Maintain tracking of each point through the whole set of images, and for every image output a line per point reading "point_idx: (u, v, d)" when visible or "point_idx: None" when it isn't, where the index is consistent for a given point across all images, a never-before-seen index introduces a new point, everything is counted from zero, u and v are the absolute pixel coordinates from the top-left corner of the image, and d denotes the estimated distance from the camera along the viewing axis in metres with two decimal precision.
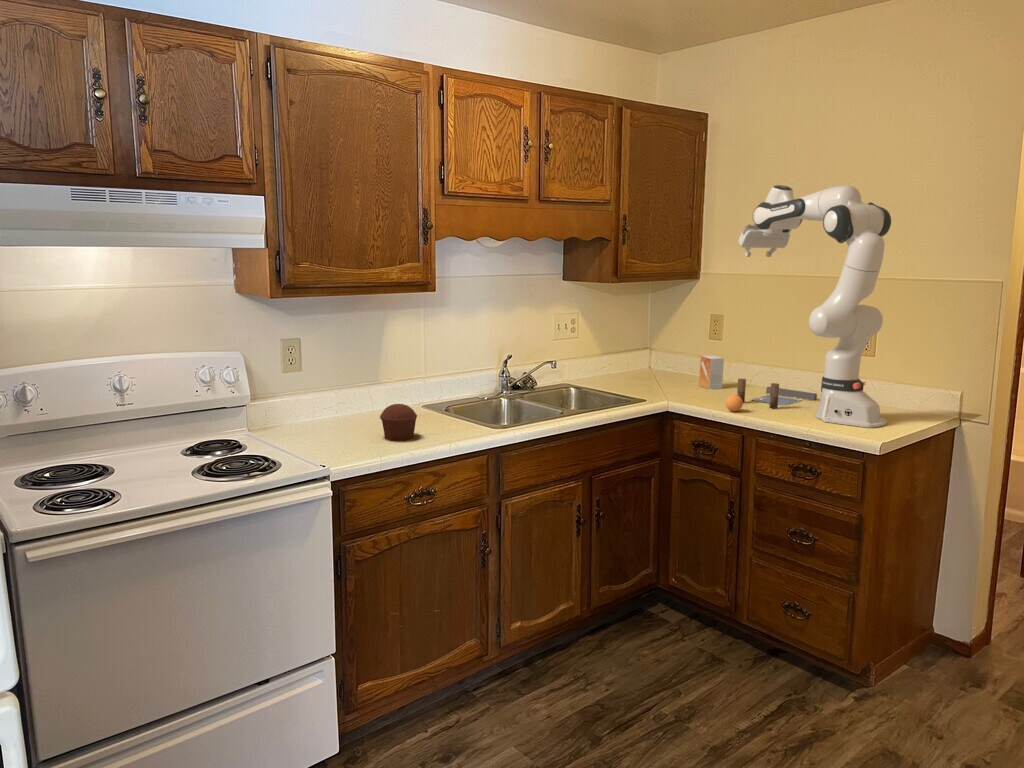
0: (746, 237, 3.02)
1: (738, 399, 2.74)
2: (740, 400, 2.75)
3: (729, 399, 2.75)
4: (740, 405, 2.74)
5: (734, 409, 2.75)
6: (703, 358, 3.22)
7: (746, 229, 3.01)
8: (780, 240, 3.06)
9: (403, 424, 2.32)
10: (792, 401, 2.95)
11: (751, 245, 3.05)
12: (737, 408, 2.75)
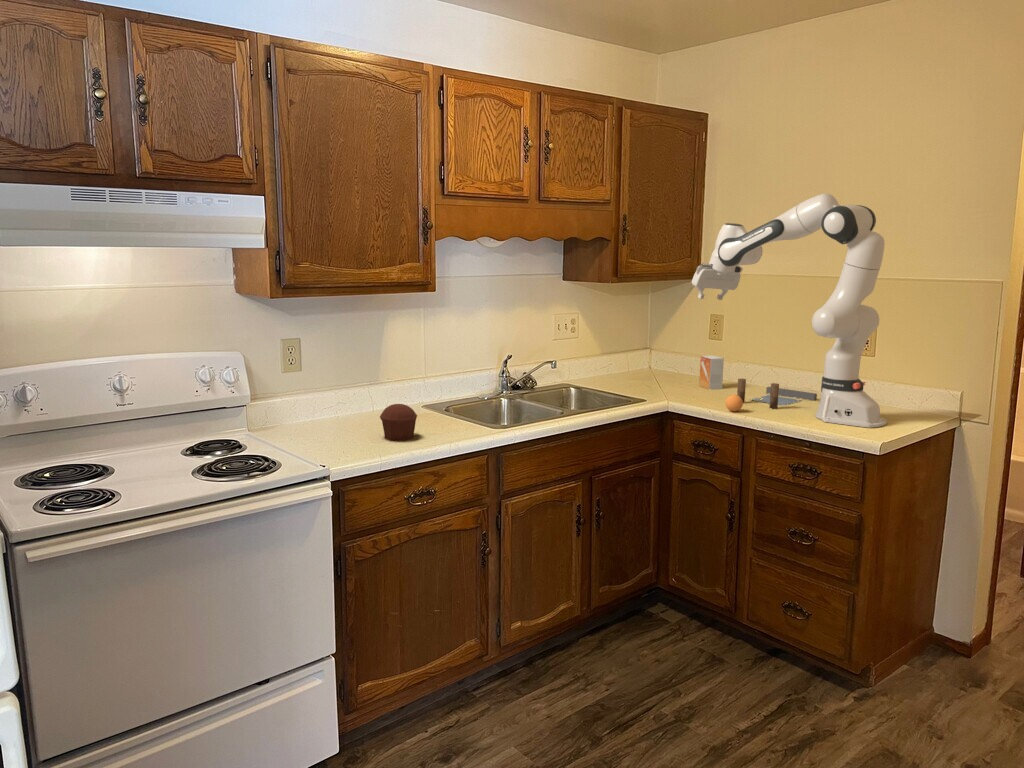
0: (701, 276, 2.91)
1: (738, 399, 2.74)
2: (740, 400, 2.75)
3: (729, 399, 2.75)
4: (740, 405, 2.74)
5: (734, 409, 2.75)
6: (703, 358, 3.22)
7: (700, 268, 2.91)
8: (731, 281, 2.98)
9: (403, 424, 2.32)
10: (792, 401, 2.95)
11: (705, 286, 2.94)
12: (737, 408, 2.75)
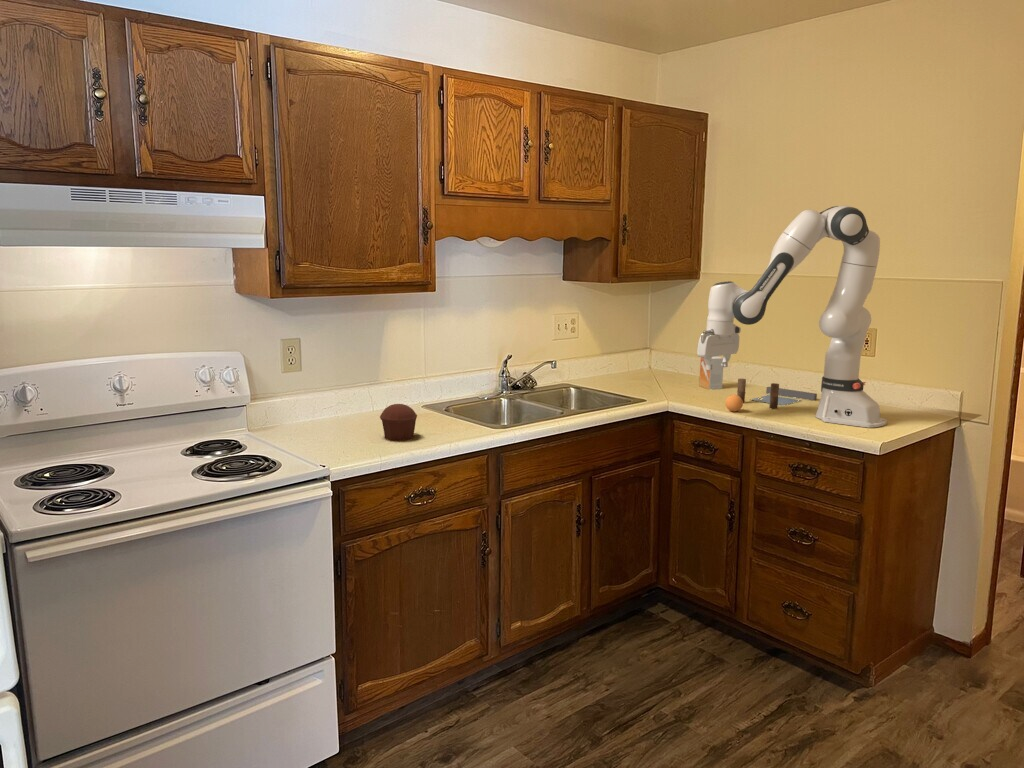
0: (707, 344, 2.61)
1: (738, 399, 2.74)
2: (740, 400, 2.75)
3: (729, 399, 2.75)
4: (740, 405, 2.74)
5: (734, 409, 2.75)
6: (703, 358, 3.22)
7: (704, 335, 2.61)
8: (732, 344, 2.71)
9: (403, 424, 2.32)
10: (792, 401, 2.95)
11: (712, 354, 2.64)
12: (737, 408, 2.75)
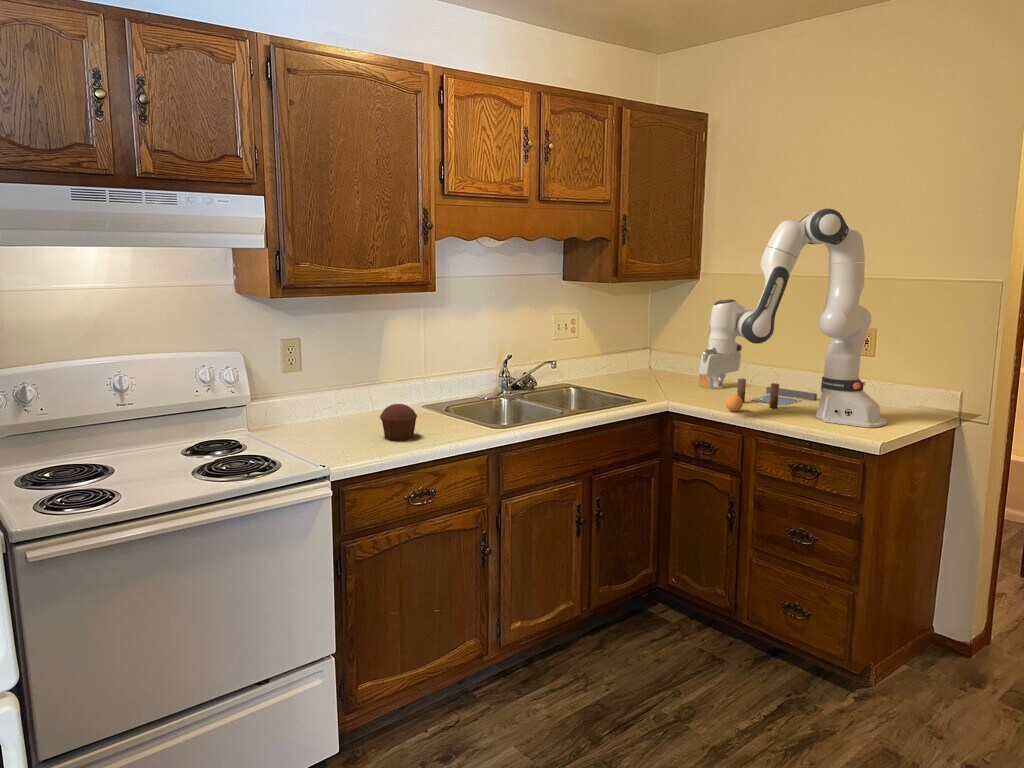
0: (709, 363, 2.60)
1: (738, 399, 2.74)
2: (740, 400, 2.75)
3: (729, 399, 2.75)
4: (740, 405, 2.74)
5: (734, 409, 2.75)
6: None
7: (706, 354, 2.60)
8: (734, 362, 2.71)
9: (403, 424, 2.32)
10: (792, 401, 2.95)
11: (714, 373, 2.63)
12: (737, 408, 2.75)
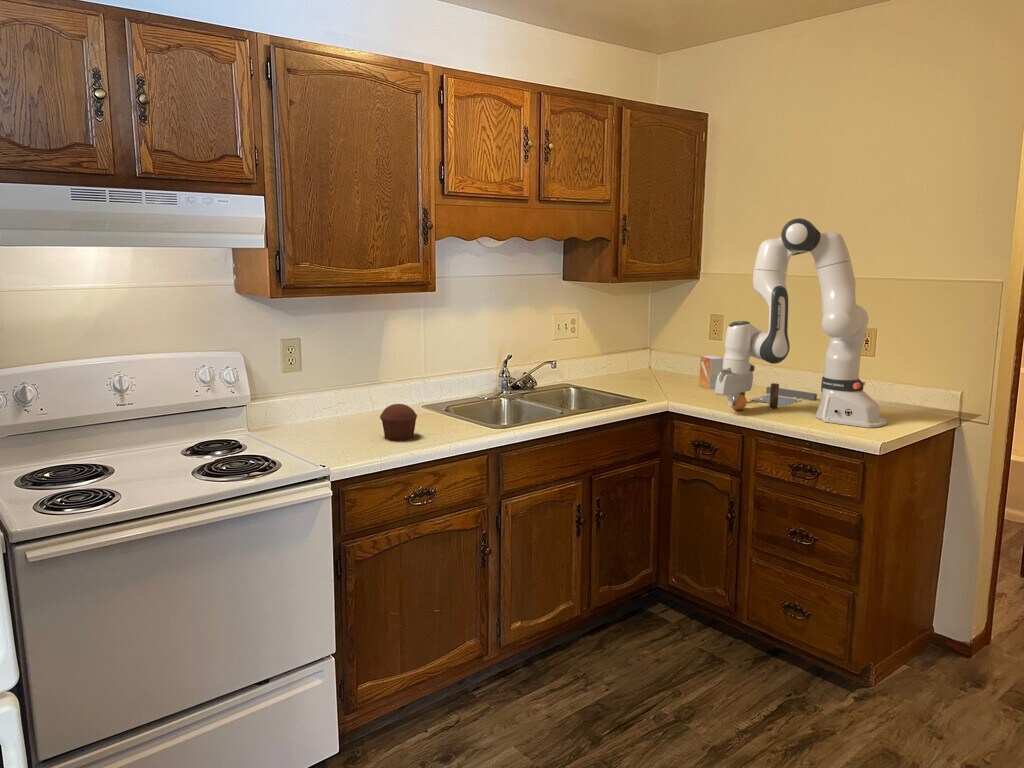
0: (725, 383, 2.67)
1: (743, 396, 2.77)
2: (744, 398, 2.77)
3: None
4: (743, 403, 2.77)
5: (737, 405, 2.77)
6: (703, 358, 3.22)
7: (722, 374, 2.67)
8: (747, 382, 2.78)
9: (403, 424, 2.32)
10: (792, 401, 2.95)
11: (729, 392, 2.70)
12: (740, 404, 2.76)
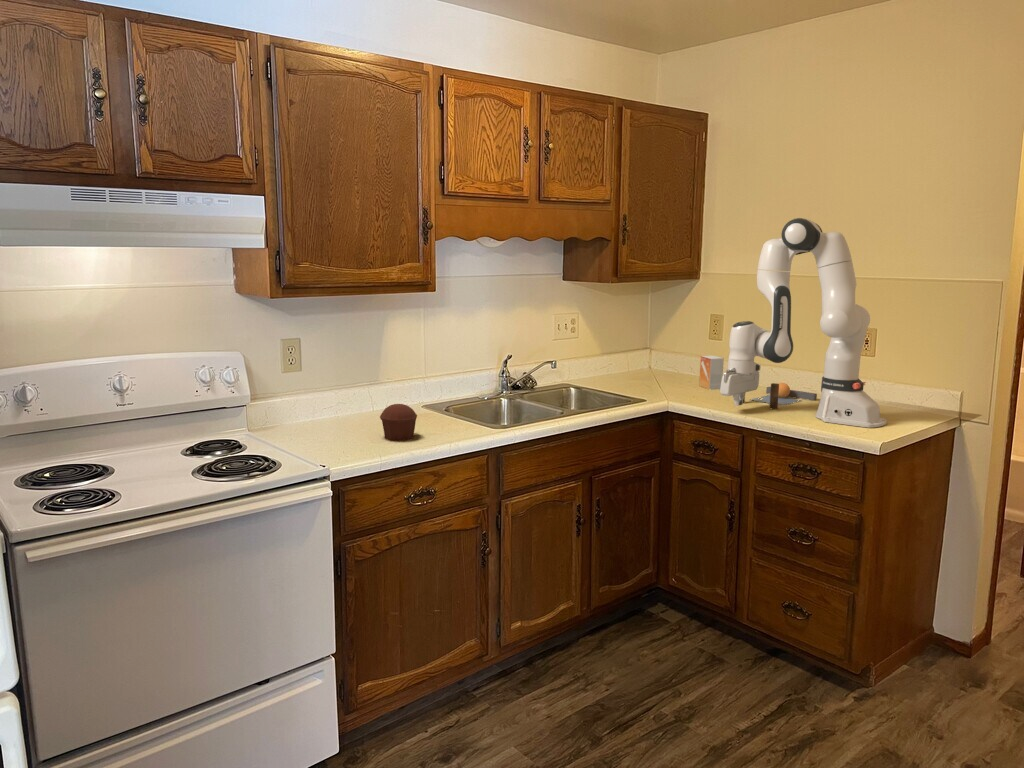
0: (730, 383, 2.70)
1: (784, 389, 2.99)
2: (786, 389, 2.99)
3: None
4: (788, 393, 3.00)
5: (784, 397, 3.01)
6: (703, 358, 3.22)
7: (727, 375, 2.70)
8: (753, 381, 2.81)
9: (403, 424, 2.32)
10: (792, 401, 2.95)
11: (735, 392, 2.73)
12: (786, 396, 3.01)
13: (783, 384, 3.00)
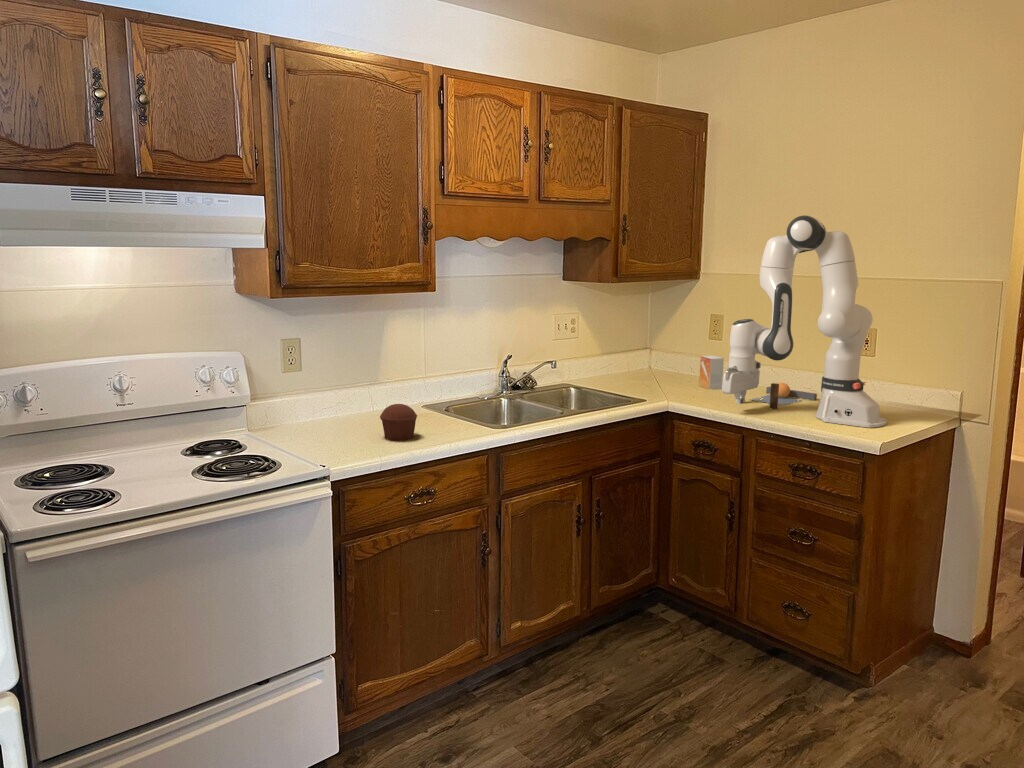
0: (732, 381, 2.69)
1: (784, 389, 2.99)
2: (786, 389, 2.99)
3: None
4: (788, 393, 3.00)
5: (784, 397, 3.01)
6: (703, 358, 3.22)
7: (728, 373, 2.69)
8: (753, 379, 2.80)
9: (403, 424, 2.32)
10: (792, 401, 2.95)
11: (736, 390, 2.72)
12: (786, 396, 3.01)
13: (783, 384, 3.00)
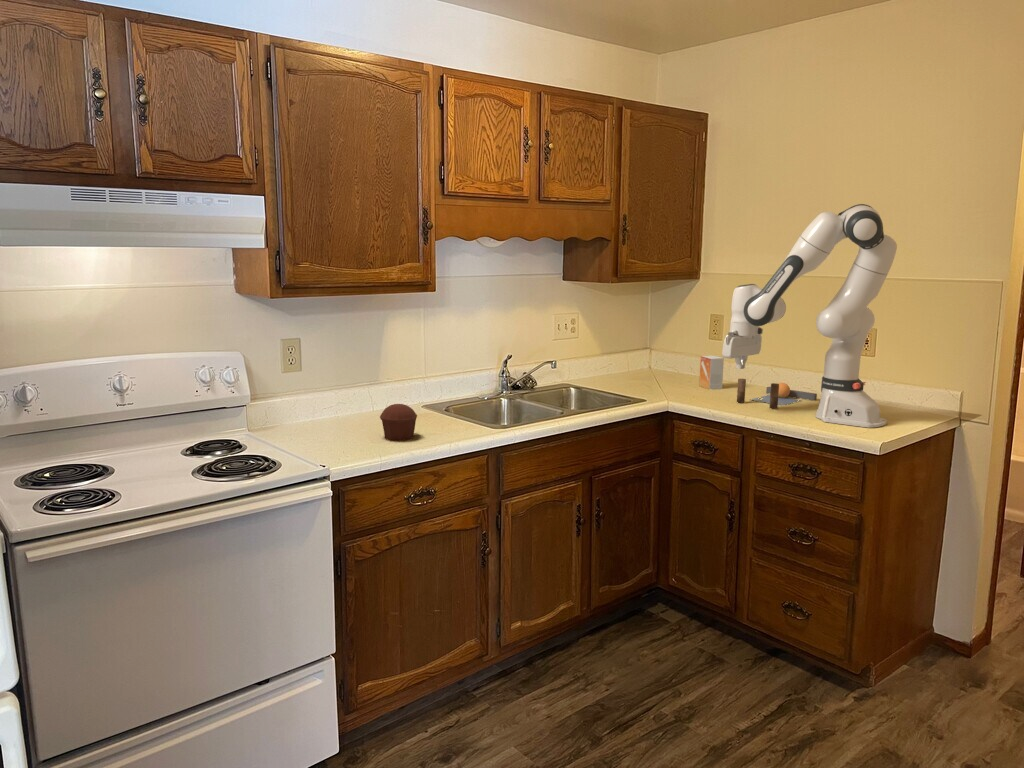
0: (732, 345, 2.68)
1: (784, 389, 2.99)
2: (786, 389, 2.99)
3: None
4: (788, 393, 3.00)
5: (784, 397, 3.01)
6: (703, 358, 3.22)
7: (729, 337, 2.68)
8: (755, 345, 2.78)
9: (403, 424, 2.32)
10: (792, 401, 2.95)
11: (737, 355, 2.71)
12: (786, 396, 3.01)
13: (783, 384, 3.00)
